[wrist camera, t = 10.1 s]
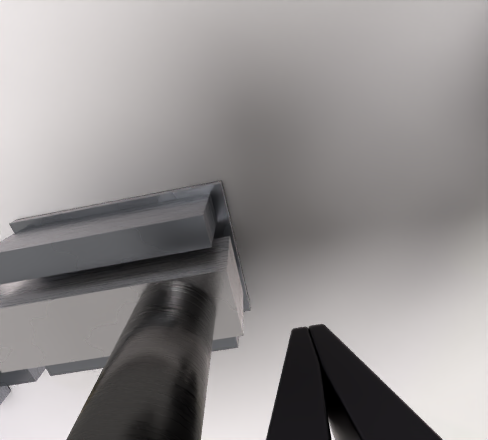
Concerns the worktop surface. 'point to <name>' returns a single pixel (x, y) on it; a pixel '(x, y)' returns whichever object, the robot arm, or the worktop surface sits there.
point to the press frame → (114, 247)
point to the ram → (130, 337)
